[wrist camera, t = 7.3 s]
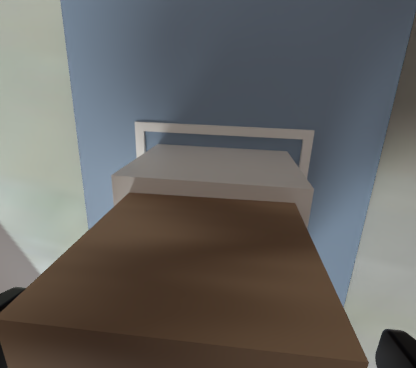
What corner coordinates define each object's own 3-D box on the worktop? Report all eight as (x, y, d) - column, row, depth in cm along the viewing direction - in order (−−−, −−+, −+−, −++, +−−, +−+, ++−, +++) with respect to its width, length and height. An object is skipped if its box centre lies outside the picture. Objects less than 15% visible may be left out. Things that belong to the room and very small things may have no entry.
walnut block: (295, 202, 8) (367, 362, 3) (277, 334, 10) (310, 565, 5) (128, 192, 9) (-7, 318, 4) (139, 319, 10) (51, 516, 6)
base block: (287, 151, 13) (314, 189, 8) (272, 263, 15) (287, 347, 10) (157, 144, 13) (111, 175, 8) (160, 253, 15) (124, 327, 10)
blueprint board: (404, 4, 11) (422, -6, 10) (326, 343, 17) (332, 361, 16) (73, 2, 12) (56, -6, 11) (108, 316, 18) (99, 331, 17)
